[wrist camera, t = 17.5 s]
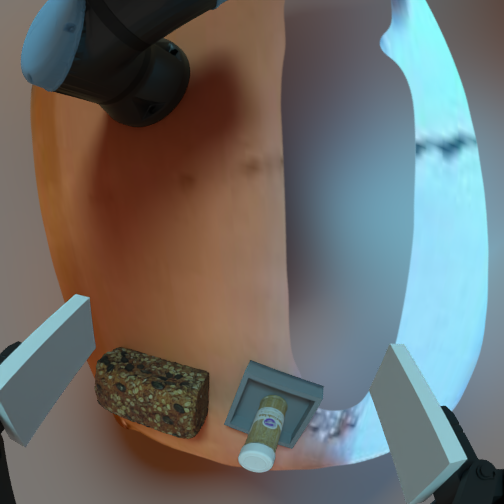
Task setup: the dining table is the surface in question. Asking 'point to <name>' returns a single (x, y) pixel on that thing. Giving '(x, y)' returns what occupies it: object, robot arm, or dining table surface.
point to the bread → (153, 391)
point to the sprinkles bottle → (264, 435)
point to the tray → (281, 384)
